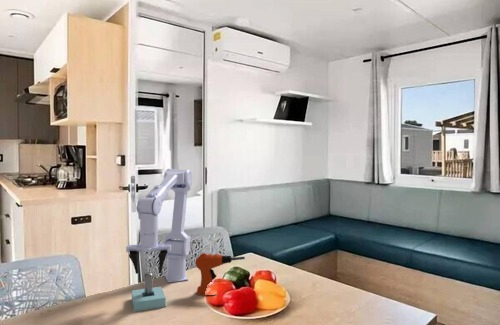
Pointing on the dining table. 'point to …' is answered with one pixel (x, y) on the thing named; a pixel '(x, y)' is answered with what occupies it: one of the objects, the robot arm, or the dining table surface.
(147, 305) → the block
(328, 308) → the dining table surface
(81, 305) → the dining table surface
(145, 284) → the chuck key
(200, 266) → the toy drill
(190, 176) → the robot arm
